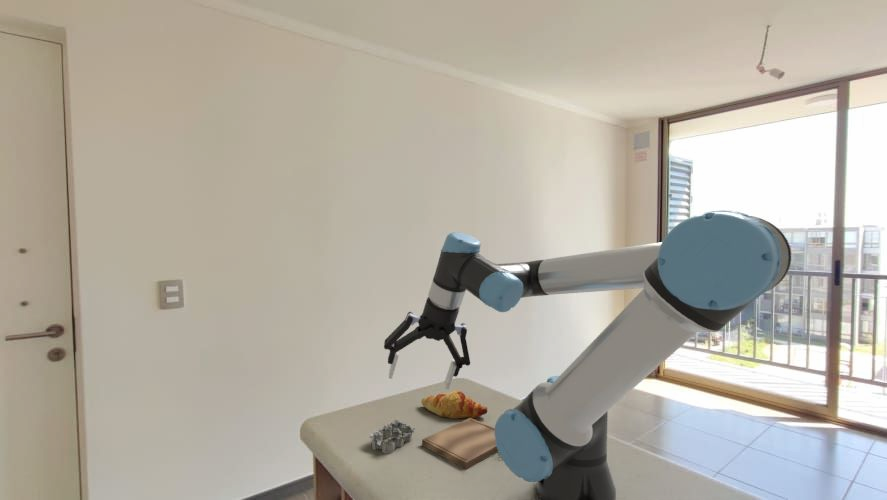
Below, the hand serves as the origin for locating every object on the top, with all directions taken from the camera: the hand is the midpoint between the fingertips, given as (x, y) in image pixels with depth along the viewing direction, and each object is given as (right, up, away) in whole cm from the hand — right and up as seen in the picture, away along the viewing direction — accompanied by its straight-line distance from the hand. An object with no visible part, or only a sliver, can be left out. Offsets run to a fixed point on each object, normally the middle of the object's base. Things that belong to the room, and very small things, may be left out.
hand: (418, 380), depth 97 cm
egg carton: (-7, -19, +8) cm, 21 cm away
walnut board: (+12, -18, +7) cm, 23 cm away
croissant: (+9, -18, +26) cm, 33 cm away
